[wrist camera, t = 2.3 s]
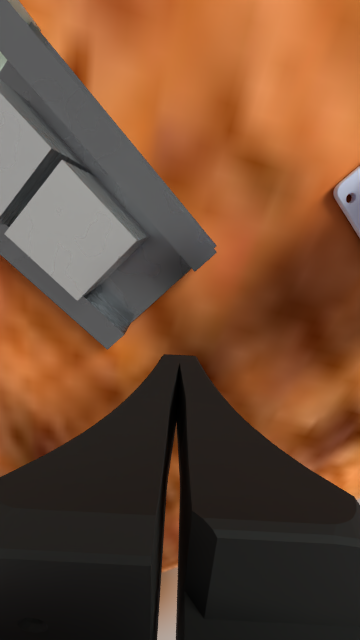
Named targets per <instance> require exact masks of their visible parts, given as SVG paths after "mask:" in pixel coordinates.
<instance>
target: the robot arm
mask: <svg viewBox="0 0 360 640" xmlns="http://www.w3.org/2000/svg"><path fill="white" fill-rule="evenodd" d="M348 194H350V195H351V197H352V198H351V201H350V202H349V203H347V202H346V197H347V195H348ZM333 195H334V198H335V200H336V201H337V203H338V204H339V206H340V208H341V209H342V211H343V212H344V214H345V216H346V217H347V219H348V220H349V222H350V224H351V225H352V227H353V228H354V230H355V232H356V233H357V235H358V236H359V238H360V166H358V167H357V168H356V169H355V170H354V171H353V172H351V173H350V174H349V175H348V176H347V177H345V178H344V179H343V180H342V181H341V182H340V183H338V184H337V186H336V187H335V189H334V192H333ZM176 421H177V438H178V455H179V472H180V514H179V552H178V590H177V623H176V640H360V505H359V503H358V502H357V500H356V499H355V497H354V496H352V495H350V494H349V493H347V492H346V491H344V490H342V489H341V488H339V487H337V486H336V485H334V484H332V483H331V482H329V481H328V480H326V479H324V478H323V477H321V476H319V475H318V474H316V473H314V472H313V471H311V470H310V469H308V468H307V467H305V466H304V465H302V464H301V463H299V462H298V461H296V460H295V459H293V458H292V457H291V456H289V455H288V454H286V453H285V452H283V451H282V450H281V449H279V448H278V447H277V446H275V445H274V444H273V443H271V442H270V441H269V440H268V439H266V438H265V437H264V436H263V435H262V434H260V433H259V432H258V431H257V430H256V429H254V428H253V427H252V426H251V425H250V424H249V423H248V422H246V421H245V420H244V419H243V418H242V417H241V416H240V415H239V414H238V413H237V412H236V411H235V410H234V409H233V408H232V407H231V405H230V404H229V403H228V402H227V401H226V400H225V398H224V397H223V396H222V395H221V394H220V392H219V391H218V390H217V389H216V387H215V386H214V384H213V383H212V382H211V380H210V379H209V377H208V376H207V374H206V373H205V371H204V370H203V368H202V366H201V364H200V363H199V361H198V359H197V358H196V356H186V355H166V354H164V355H163V356H162V357H161V359H160V360H159V362H158V364H157V365H156V366H155V368H154V369H153V370H152V372H151V373H150V374H149V375H148V377H147V378H146V379H145V380H144V381H143V382H142V384H141V385H140V386H139V387H138V388H137V389H136V390H135V391H134V392H133V393H132V394H131V395H130V396H129V397H128V398H127V399H126V400H125V401H124V402H123V403H122V404H120V405H119V406H118V407H117V408H116V409H115V410H113V411H112V412H111V413H110V414H108V415H107V416H106V417H104V418H103V419H102V420H100V421H99V422H98V423H96V424H95V425H93V426H92V427H91V428H89V429H88V430H86V431H85V432H83V433H82V434H80V435H78V436H77V437H75V438H74V439H72V440H70V441H69V442H67V443H65V444H64V445H62V446H60V447H58V448H57V449H55V450H53V451H51V452H49V453H48V454H46V455H44V456H42V457H40V458H38V459H36V460H34V461H32V462H30V463H28V464H26V465H24V466H22V467H20V468H18V469H16V470H14V471H12V472H10V473H8V474H6V475H4V476H2V477H0V640H157V631H158V616H159V615H158V614H159V600H160V584H161V568H162V553H163V538H164V522H165V507H166V492H167V482H168V474H169V468H170V461H171V454H172V448H173V441H174V434H175V427H176Z"/></svg>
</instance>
